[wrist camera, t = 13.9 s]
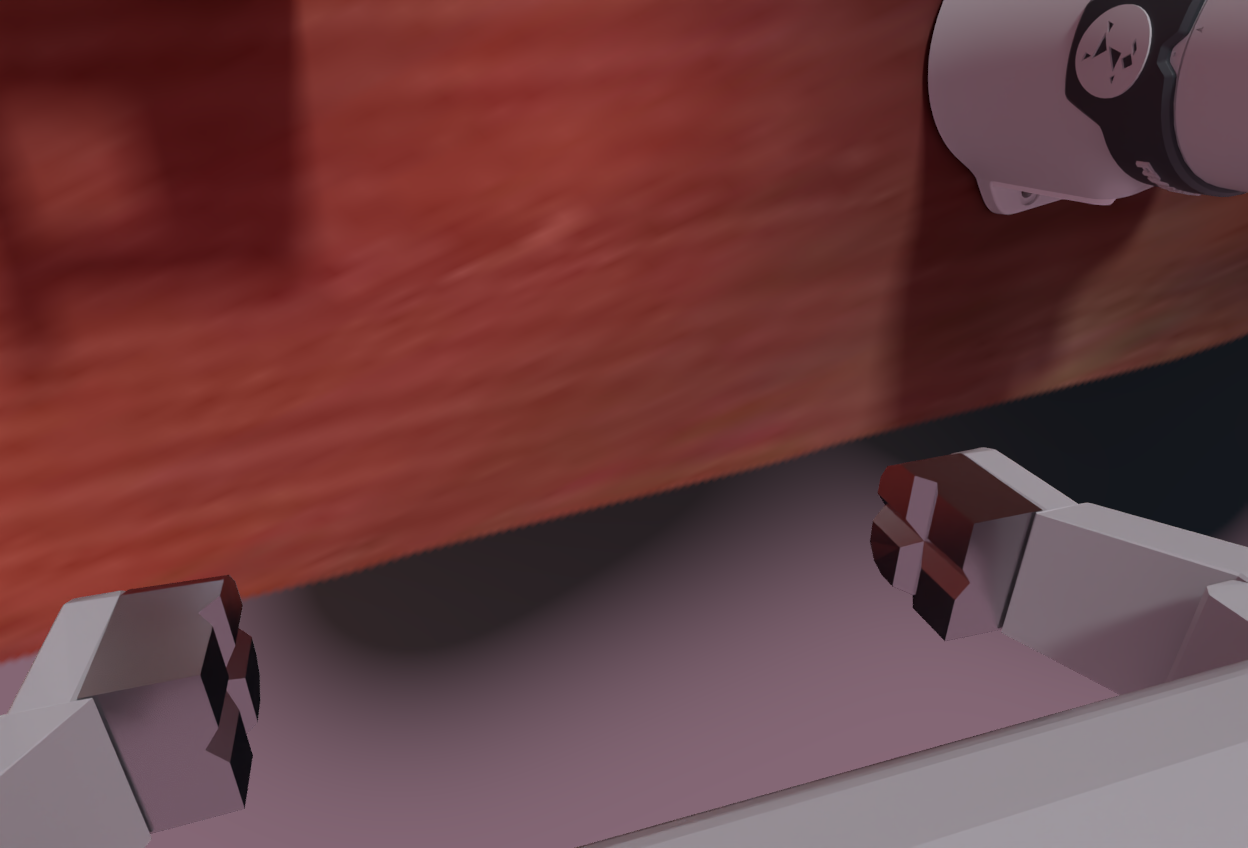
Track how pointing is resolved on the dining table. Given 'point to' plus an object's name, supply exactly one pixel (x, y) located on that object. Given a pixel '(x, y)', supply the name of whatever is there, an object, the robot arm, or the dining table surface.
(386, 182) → the dining table surface
